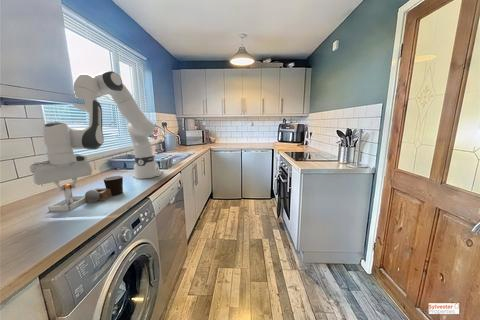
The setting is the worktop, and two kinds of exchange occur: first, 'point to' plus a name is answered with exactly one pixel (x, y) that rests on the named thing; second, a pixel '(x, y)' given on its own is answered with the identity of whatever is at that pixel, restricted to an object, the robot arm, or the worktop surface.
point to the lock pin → (68, 194)
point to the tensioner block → (98, 195)
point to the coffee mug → (114, 184)
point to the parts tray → (59, 206)
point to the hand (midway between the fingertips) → (67, 189)
